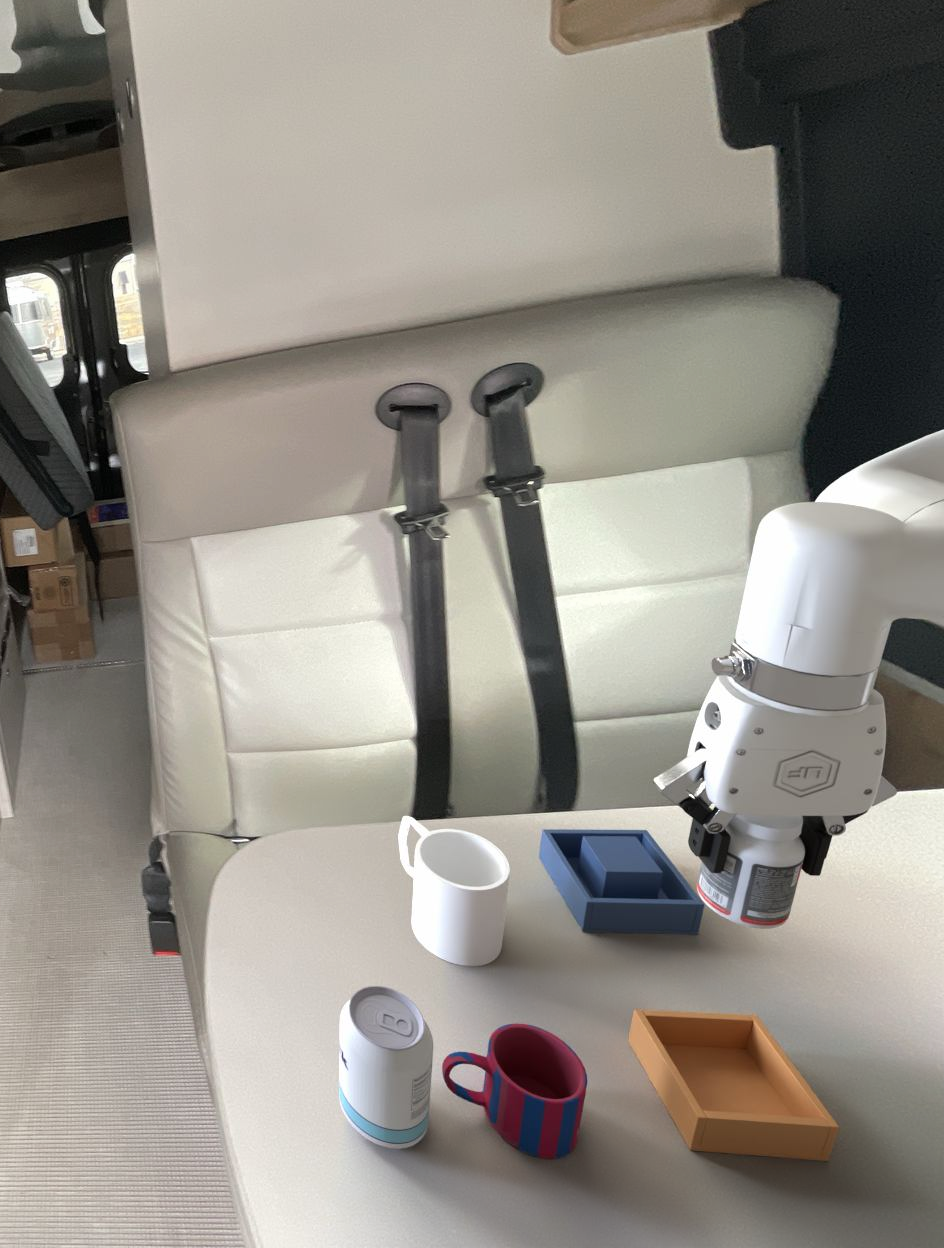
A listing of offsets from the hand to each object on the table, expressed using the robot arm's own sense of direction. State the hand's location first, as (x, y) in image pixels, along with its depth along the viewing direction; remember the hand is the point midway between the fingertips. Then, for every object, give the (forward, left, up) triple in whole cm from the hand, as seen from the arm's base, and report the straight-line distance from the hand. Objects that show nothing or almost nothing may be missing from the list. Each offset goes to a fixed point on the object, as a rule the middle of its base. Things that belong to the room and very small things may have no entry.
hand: (752, 859), depth 66 cm
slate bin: (+1, -15, -20) cm, 25 cm away
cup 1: (+19, -11, -20) cm, 29 cm away
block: (+1, -15, -19) cm, 24 cm away
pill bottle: (0, 0, -5) cm, 5 cm away
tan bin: (+3, +6, -20) cm, 21 cm away
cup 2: (+20, +9, -20) cm, 29 cm away
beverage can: (+30, +10, -20) cm, 37 cm away
